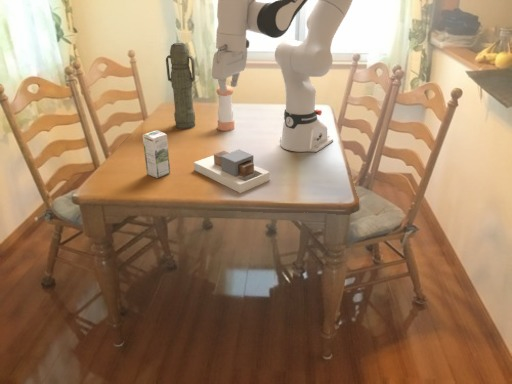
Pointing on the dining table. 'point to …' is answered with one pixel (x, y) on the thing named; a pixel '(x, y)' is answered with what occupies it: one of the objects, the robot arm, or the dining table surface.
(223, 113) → the pepper shaker
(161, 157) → the syrup box
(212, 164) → the board
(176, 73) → the thermos
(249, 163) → the bar
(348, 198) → the dining table surface
